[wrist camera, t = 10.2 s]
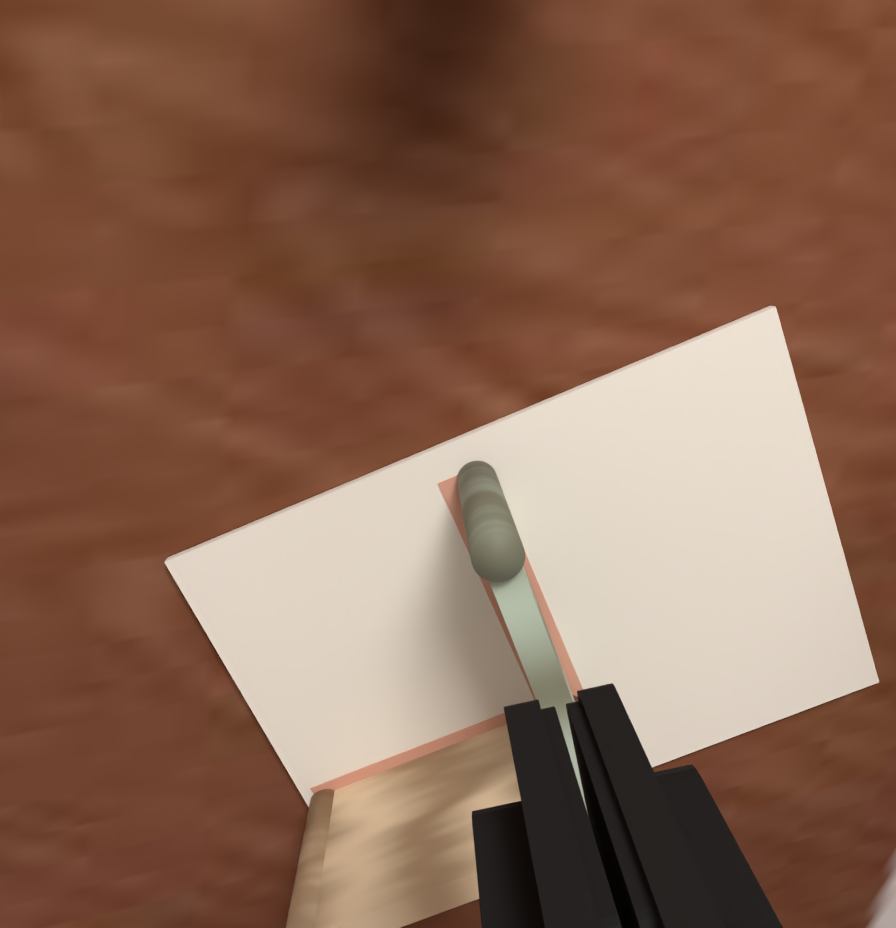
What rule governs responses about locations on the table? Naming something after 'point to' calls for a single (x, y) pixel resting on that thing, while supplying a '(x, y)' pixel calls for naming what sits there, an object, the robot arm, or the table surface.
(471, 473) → the swing panel
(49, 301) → the table surface
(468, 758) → the fixed fence
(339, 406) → the table surface
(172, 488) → the table surface
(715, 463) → the card
